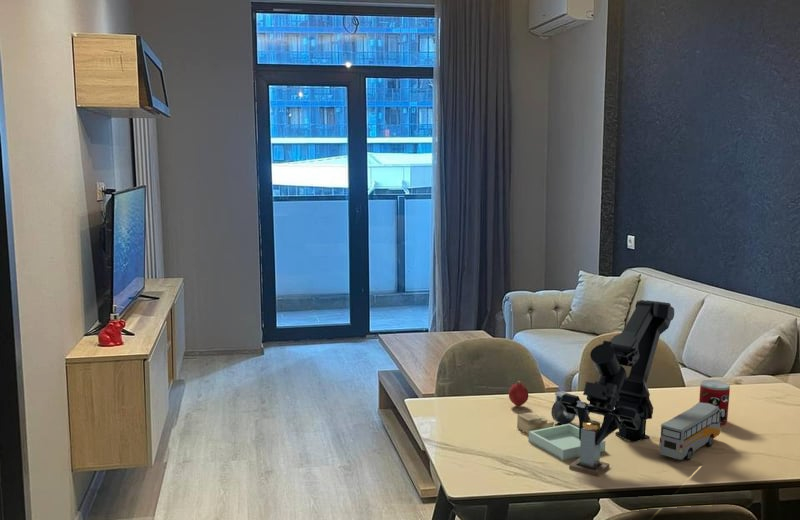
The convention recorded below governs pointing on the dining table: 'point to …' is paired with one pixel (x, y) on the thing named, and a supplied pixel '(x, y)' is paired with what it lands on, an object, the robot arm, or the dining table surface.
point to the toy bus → (690, 431)
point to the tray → (559, 441)
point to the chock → (532, 422)
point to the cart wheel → (561, 410)
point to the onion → (518, 394)
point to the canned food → (716, 396)
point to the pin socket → (597, 472)
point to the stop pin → (589, 445)
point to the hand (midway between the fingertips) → (588, 442)
